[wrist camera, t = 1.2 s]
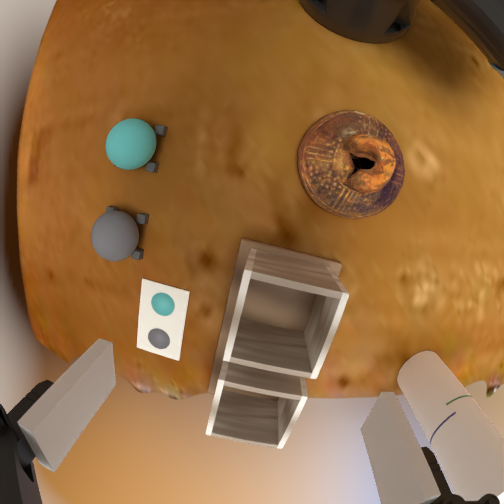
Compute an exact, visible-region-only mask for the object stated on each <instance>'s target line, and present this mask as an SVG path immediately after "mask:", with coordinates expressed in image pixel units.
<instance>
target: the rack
mask: <svg viewBox="0 0 504 504" xmlns="http://www.w3.org/2000/svg"><path fill="white" fill-rule="evenodd" d="M341 267H342V263H341V262H339V261H335V260H331V259H327V258H323V257H319V256H315V255H311V254H307V253H303V252H299V251H295V250H291V249H287V248H283V247H278V246H274V245H270V244H266V243H262V242H258V241H254V240H250V239H246V238H242V240H241V244H240V248H239V253H238V257H237V261H236V266H235V270H234V274H233V279H232V283H231V288H230V292H229V297H228V301H227V305H226V310H225V314H224V319H223V323H222V328H221V332H220V337H219V341H218V346H217V351H216V355H215V360H214V364H213V369H212V374H211V378H210V383H209V388H208V392H207V393H210V394H214V395H215V396H214V400H213V404H212V409H211V413H210V417H209V421H208V425H207V430H206V435H210V436H214V437H218V438H223V439H227V440H232V441H237V442H242V443H248V444H253V445H260V446H265V447H273V448H279V449H280V448H281V449H282V448H283V446H284V444H285V442H286V440H287V438H288V436H289V435H290V433H291V431H292V429H293V427H294V425H295V423H296V421H297V419H298V417H299V415H300V412H301V411H302V408H303V406H304V404H305V402H306V400H307V398H308V393H307V387H306V380H305V377H306V378H312V379H316V378H317V376H318V374H319V371H320V369H321V367H322V364H323V362H324V360H325V357H326V355H327V352H328V350H329V348H330V345H331V343H332V340H333V338H334V335H335V332H336V330H337V327H338V325H339V322H340V319H341V317H342V314H343V311H344V308H345V306H346V303H347V300H348V297H349V293H348V291H347V290H346V288H345V287H344V285H343V284H342V283H341V281H340V280H339V278H338V277H339V273H340V270H341Z"/></svg>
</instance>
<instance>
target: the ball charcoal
mask: <svg viewBox="0 0 504 504" xmlns="http://www.w3.org/2000/svg"><path fill="white" fill-rule="evenodd" d="M91 241H92V245H93V247H94V249H95V251H96V252H97V253H98V254H99V255H100V256H101V257H102V258H104V259H106V260H109V261H120V260H123V259H126V258H127V257H129V256H130V255H131V254H132V253H133V252H134V250H135V249H136V247H137V244H138V241H139V230H138V227H137V224H136V222H135V221H134V219H133V218H132V217H131V216H130V215H128V214H127V213H125V212H122V211H109V212H106V213H104V214H103V215H101V216H100V217H99V218H98V219H97V220H96V222H95V223H94V225H93V228H92V232H91Z"/></svg>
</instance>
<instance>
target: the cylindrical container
mask: <svg viewBox="0 0 504 504" xmlns="http://www.w3.org/2000/svg"><path fill="white" fill-rule="evenodd" d="M397 382H398V385H399V387H400V389H401V391H402V392H403V394H404V396H405V398H406V400H407V401H408V403H409V405H410V407H411V409H412V411H413V412H414V414H415V416H416V418H417V420H418V421H419V424H420V425H421V427H422V429H423V431H424V433H425V435H426V437H427V439H428V441H429V443H430V445H431V447H432V449H433V451H434V453H435V455H436V457H437V459H438V461H439V463H440V465H441V467H442V469H443V471H444V473H445V475H446V477H447V479H448V482H449V484H450V486H451V488H452V490H453V492H454V494H456V495H459V496H461V497H463V499H464V500H465V501H478V500H479V499H480V498H481V497H483V496H484V495H486V494H494V495H495V496H497V497H498V499H499V501H500V504H503V503H504V439H503V437H502V436H501V434H500V433H499V431H498V430H497V429H496V427H495V426H494V425H493V423H492V422H491V421H490V419H489V418H488V417H487V415H486V414H485V413H484V411H483V410H482V409H481V408H480V406H479V405H478V404H477V402H476V401H475V400H474V399H473V397H472V396H471V395H470V394H469V392H468V391H467V390H466V389H465V387H464V386H463V385H462V384H461V382H460V381H459V380H458V379H457V378H456V376H455V375H454V374H453V373H452V372H451V370H450V369H449V368H448V367H447V366H446V364H445V363H444V362H443V361H442V360H441V359H440V357H439V356H438V355H437V354H436V353H435V352H433V351H423V352H420V353H417V354H415V355H414V356H412V357H411V358H410V359H408V360H407V361H406V362H405V364H404V365H403V366H402V368H401V369H400V371H399V373H398V377H397Z"/></svg>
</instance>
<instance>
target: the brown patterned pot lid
mask: <svg viewBox="0 0 504 504" xmlns="http://www.w3.org/2000/svg"><path fill="white" fill-rule="evenodd" d="M347 151H348V152H347ZM350 152H351V153H350ZM352 152H353V153H352ZM298 154H299V159H298V169H299V174H300V177H301V180H302V183H303V185H304V188H305V190H306V191H307V193H308V194H309V196H310V197H311V198H312V199H313V200H314V202H315V203H316V204H317V205H318V206H320V207H321V208H323V209H324V210H326V211H328V212H330V213H332V214H335V215H337V216H340V217H344V218H350V219H361V218H367V217H370V216H373V215H376V214H378V213H380V212H382V211H383V210H385V209H386V208H387V207H388V206H390V205H391V204H392V203H393V202H394V200H395V199H396V197H397V195H398V194H399V192H400V189H401V188H402V185H403V180H404V174H405V169H404V160H403V155H402V153H401V150H400V148H399V145H398V143H397V141H396V140H395V138H394V136H393V135H392V133H391V132H390V131H389V130H388V128H387V127H386V126H385V125H384V124H383V123H382V122H380V121H379V120H378V119H376V118H375V117H373V116H370V115H368V114H365V113H362V112H359V111H353V110H352V111H350V110H347V111H338V112H336V113H333V114H330V115H326V116H324V117H322V118H321V119H320V120H318V121H317V122H316V123H315V124H314V125H313V126H312V127H311V128H310V129H309V130H308V131H307V133H306V134H305V136H304V138H303V140H302V142H301V144H300V146H299V149H298ZM350 155H351V156H350ZM358 157H366V158H368V159H370V160H372V161H374V162H375V165H374V166H373V167H372V169H368V170H366V169H360V168H361V165H360V162H359V158H358ZM351 158H354V159H355V160H356V166H354V163H353V162H352V159H351ZM324 160H325V161H324ZM358 163H359V164H358ZM372 171H373V172H372ZM355 172H356V173H355ZM352 173H355V174H353V175H352V176H351V177H350V179H349V176H350V174H352ZM351 179H352V180H351ZM351 184H352V185H351ZM360 184H361V185H360ZM354 189H355V190H354ZM358 192H359V193H358ZM353 208H354V209H353ZM343 213H344V214H343Z"/></svg>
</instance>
